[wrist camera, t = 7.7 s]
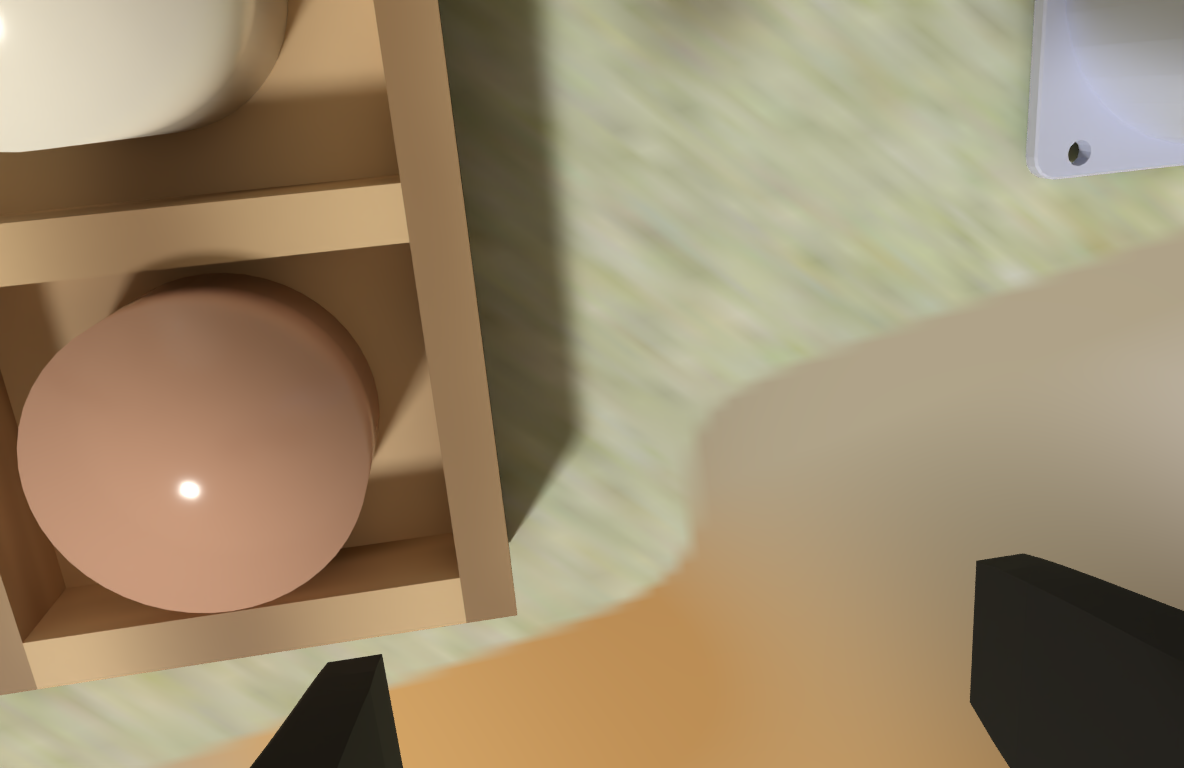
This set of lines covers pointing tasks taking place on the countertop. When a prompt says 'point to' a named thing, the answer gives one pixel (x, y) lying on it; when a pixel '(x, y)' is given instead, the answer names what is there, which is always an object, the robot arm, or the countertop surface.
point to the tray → (308, 265)
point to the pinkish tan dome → (202, 444)
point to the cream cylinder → (129, 66)
